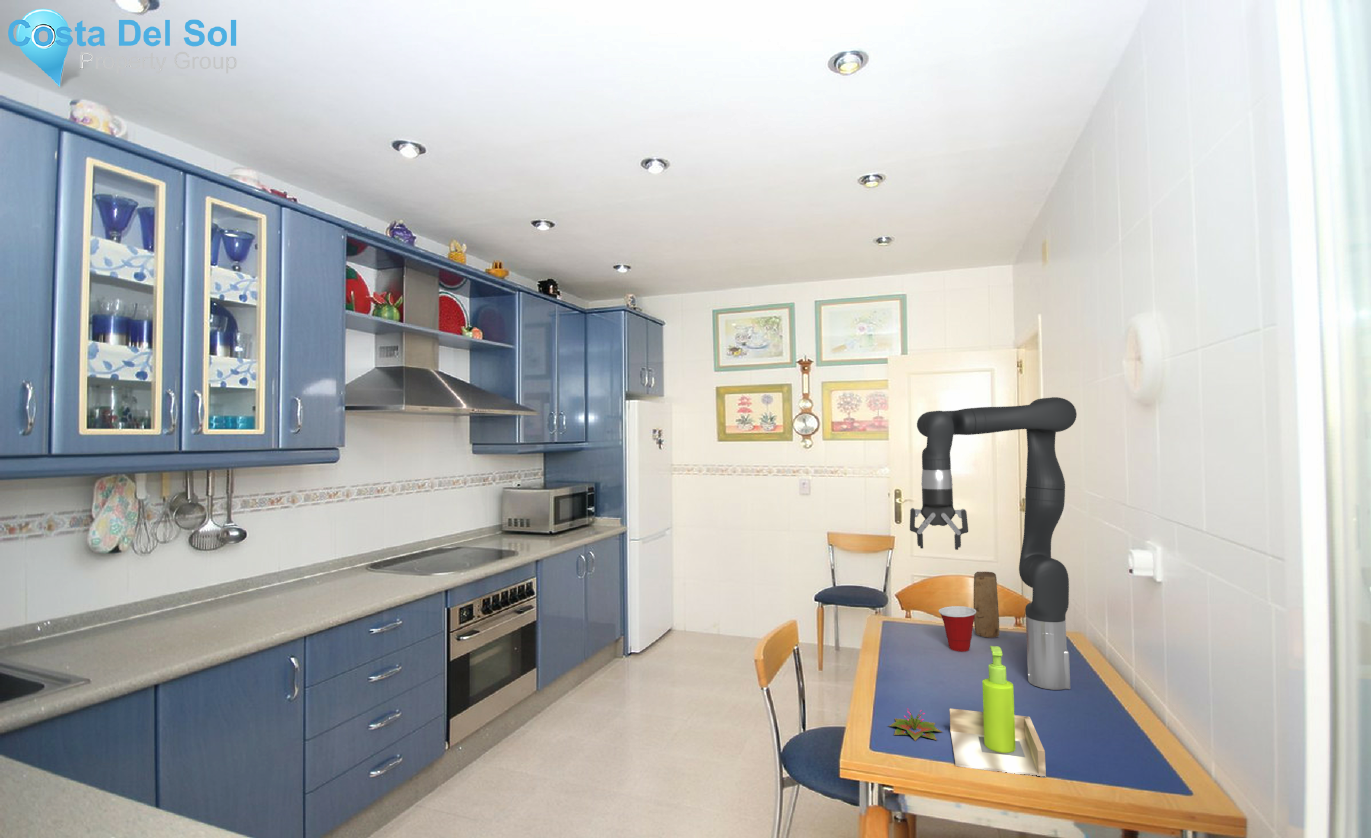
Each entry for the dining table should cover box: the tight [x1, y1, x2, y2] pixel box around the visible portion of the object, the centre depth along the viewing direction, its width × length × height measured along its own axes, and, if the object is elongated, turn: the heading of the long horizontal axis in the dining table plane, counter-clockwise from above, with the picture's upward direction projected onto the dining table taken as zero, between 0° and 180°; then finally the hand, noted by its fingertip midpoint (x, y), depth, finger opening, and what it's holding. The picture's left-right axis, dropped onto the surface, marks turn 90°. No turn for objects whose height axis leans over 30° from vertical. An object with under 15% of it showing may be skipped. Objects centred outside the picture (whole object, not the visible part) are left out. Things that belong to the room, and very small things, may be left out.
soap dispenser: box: [982, 645, 1016, 753], centre depth 137 cm, size 6×7×20 cm
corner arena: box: [949, 708, 1047, 778], centre depth 134 cm, size 16×16×5 cm
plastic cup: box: [938, 605, 976, 653], centre depth 200 cm, size 11×11×12 cm
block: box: [973, 571, 1000, 639], centre depth 213 cm, size 11×8×20 cm
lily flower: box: [888, 707, 943, 742], centre depth 146 cm, size 12×12×5 cm
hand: (939, 548), depth 170 cm, fingers open, 8 cm apart
